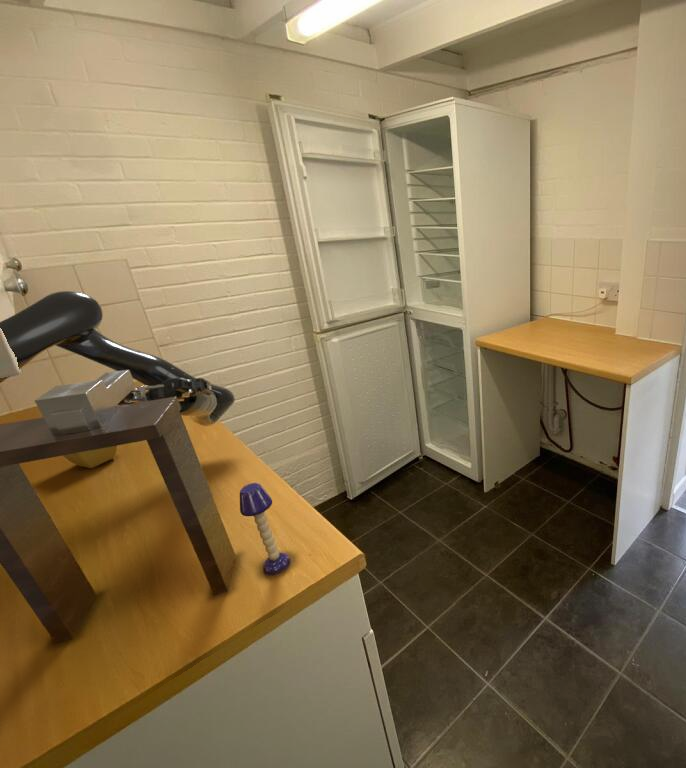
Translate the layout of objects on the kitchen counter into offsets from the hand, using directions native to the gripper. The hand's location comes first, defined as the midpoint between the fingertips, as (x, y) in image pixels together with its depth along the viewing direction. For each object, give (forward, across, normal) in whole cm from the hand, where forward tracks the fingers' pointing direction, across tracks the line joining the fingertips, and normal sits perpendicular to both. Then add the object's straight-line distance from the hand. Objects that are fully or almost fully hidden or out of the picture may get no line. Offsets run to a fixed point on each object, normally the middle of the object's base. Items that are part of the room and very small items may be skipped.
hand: (147, 387), depth 75 cm
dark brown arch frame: (+3, -2, +35) cm, 36 cm away
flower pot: (-46, -30, +8) cm, 55 cm away
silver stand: (+14, 0, +5) cm, 15 cm away
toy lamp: (+4, +16, +36) cm, 40 cm away
